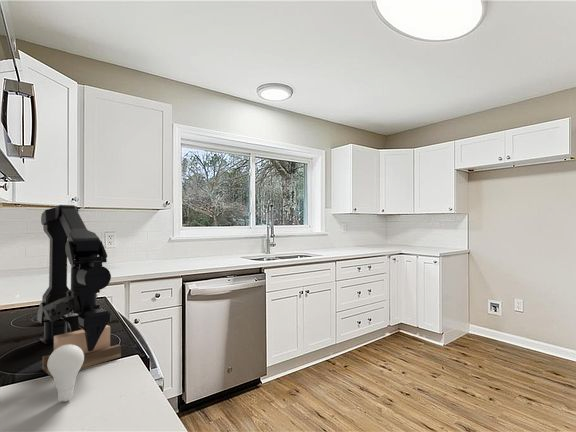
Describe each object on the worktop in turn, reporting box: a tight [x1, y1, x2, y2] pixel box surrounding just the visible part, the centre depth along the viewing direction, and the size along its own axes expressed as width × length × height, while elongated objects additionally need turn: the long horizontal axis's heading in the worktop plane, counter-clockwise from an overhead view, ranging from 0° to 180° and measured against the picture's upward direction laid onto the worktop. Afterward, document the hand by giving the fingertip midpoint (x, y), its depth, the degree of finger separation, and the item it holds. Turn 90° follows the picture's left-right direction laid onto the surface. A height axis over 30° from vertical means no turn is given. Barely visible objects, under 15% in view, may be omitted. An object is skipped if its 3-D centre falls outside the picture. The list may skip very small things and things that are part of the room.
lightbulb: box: [47, 344, 84, 403], centre depth 67 cm, size 6×6×11 cm
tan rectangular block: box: [53, 324, 111, 354], centre depth 86 cm, size 3×12×7 cm, turn 141°
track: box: [41, 339, 122, 379], centre depth 85 cm, size 8×16×3 cm, turn 141°
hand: (83, 346), depth 86 cm, fingers open, 9 cm apart
